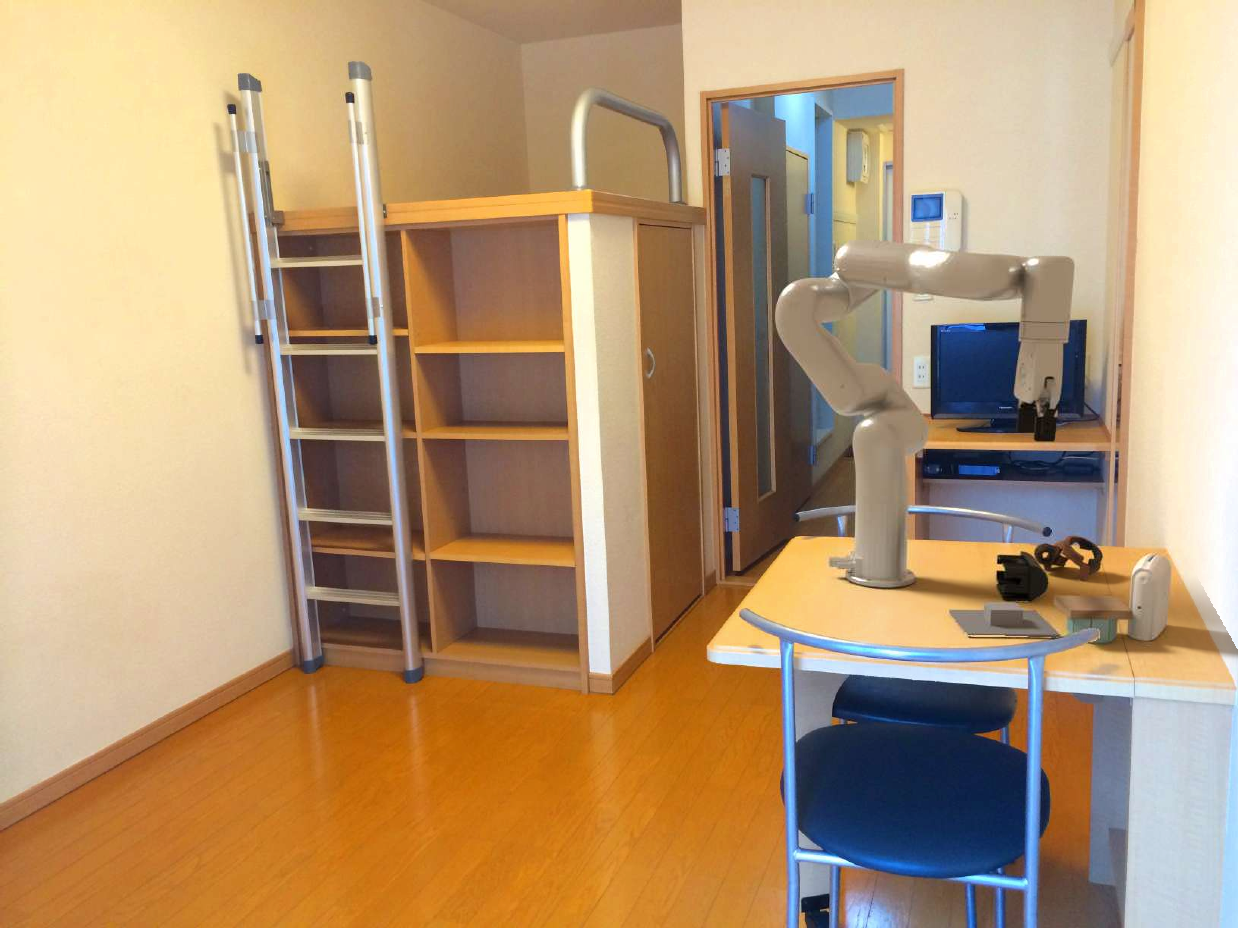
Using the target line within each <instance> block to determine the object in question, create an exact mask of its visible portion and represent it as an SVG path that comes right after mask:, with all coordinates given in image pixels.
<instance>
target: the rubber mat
mask: <svg viewBox="0 0 1238 928" xmlns="http://www.w3.org/2000/svg"><path fill="white" fill-rule="evenodd" d="M948 611H949V612H948V613H950V614H951V615H950V614H949V615H950V616H951V618H952V617H953V618H954V619H955V620H956V621H955V620H954V619H953V618H952V619H953V620H954V621H955V623H956V622H957V623H958V624H959V625H958V624H957V623H956V624H957V625H958V627H959V626H960V627H961V628H962V629H963V630H964V632H966V633H967V635H1005V636H1028V637H1051V638H1050V639H1057V638H1056V637H1060V638H1061V634H1060V633H1059V632H1058V631H1057V630H1056V629H1055V627H1053V626H1052V625H1051V623H1049V622H1048V621H1047V620H1046V619H1045V618H1044V617H1043V615H1040V613H1039V612H1038V611H1036V610H1035V609H1034V610H1033V609H1032V610H1031V609H1029V610H1028V609H1023V608H1022V607H1021V606H1020V605H1019V604H1018V602H1011V601H1004V602H1002V601H1001V602H998V601H997V602H996V601H995V602H993V601H992V602H991V601H989V602H986V601H985V602H983V609H948ZM960 627H959V628H960ZM961 628H960V629H961ZM962 629H961V630H962ZM964 632H963V633H964Z"/></svg>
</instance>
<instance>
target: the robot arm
mask: <svg viewBox="0 0 1238 928" xmlns="http://www.w3.org/2000/svg"><path fill="white" fill-rule="evenodd" d="M837 250H838V251H837V252H836V254H835V257H834V261H833V267H834V273H833V274H831V275H830V276H828V277H809V278H807V277H806V278H802V279H798V280H797V279H796V280H794V281H792V282H791V283H789V284H788V285H786V287H784V288H783V290H782V291H781V293H780V294H779V297H778V300H777V302H776V305H775V311H774V312H775V313H774V314H775V315H774V316H775V317H774V318H775V319H774V321H775V327H776V330H777V334H778V336H779V338H780V341H781V342H782V343H783V345H784V346H785V348H786V349H787V351H788V352H789V353H790V355H791V356H792V357H793V359H795V361H796V362H797V363H798V365H800V367H801V368H802V370H803V371H804V373H805V374H806V375H807V377H808V379H809V380H810V381H811V382H812V383H813V385H814V386H815V388H816V389H817V391H818V392H819V393H820V395H821V396H822V397H823V398H824V400H825V401H826V402H827V404H828V405H829V406H830V408H831V409H832V410H833V411H834V412H835V413H837V414H839V415H841V416H844V417H853V416H859V415H862V416H863V417H864V418H862V419H861V420H860V421H859V422H858V424H856V426H855V429H854V431H853V435H852V436H853V437H852V452H853V453H852V454H853V457H854V458H853V459H854V468H855V519H854V522H855V523H854V529H855V530H854V550H853V551H850V555H849V554H848V555H845V557H843V556H842V557H840V556H829V557H828V566H829V568H836V569H837V570H845V578H846V579H847V581H850V582H852V583H853V584H857V585H861V586H864V587H865V586H866V587H872V588H884V589H885V588H888V589H889V588H901V587H906V586H909V585H911V584H913V583H914V582H915V579H916V578H915V577H916V575H915V573H914V572H913V571H912V570H911V569H908V567H907V563H908V534H909V531H908V530H909V508H910V507H909V506H910V505H909V502H910V501H909V500H910V498H909V497H910V496H909V495H910V482H909V480H910V479H909V474H908V468H907V462H906V458H907V457H911V456H914V455H915V454H917V453H918V452H920V451H921V450H923V448H924V447H925V446H926V444H927V442H928V440H929V436H930V428H929V424H928V420H927V419H926V417H925V415H924V414H923V413H922V411H921V410H920V409H919V407H918V406H917V405H916V403H915V402H914V401H913V399H912V398H911V397H910V395H909V394H908V393H907V392H906V391H905V389H904V388H903V387H902V385H901V384H900V383H899V382H898V380H897V379H896V378H895V376H893V374H892V373H891V372H890V371H888V370H887V369H886V368H884V367H883V366H881V365H879V364H877V363H872V362H861V363H859V362H857V361H856V360H855V359H854V358H853V357H852V356H851V354H850V353H849V352H848V351H847V349H846V348H845V347H844V345H843V344H842V342H840V340H839V339H838V338H837V337H836V336H835V335H834V334H832V333H831V332H830V331H829V330H828V329H827V328H826V327H825V326H824V325H823V324H822V323H825V324H826V323H834V322H837V321H840V320H843V319H845V318H846V317H848V316H849V315H851V314H852V313H854V311H855V310H858V309H859V308H860V307H861V306H863V305H864V304H865V303H866V302H867V301H869V300H870V299H872V298H873V297H874V296H876V294H877V295H878V293H879V292H880V291H883V290H884V291H890V292H892V291H893V292H897V293H898V292H899V293H907V294H913V295H915V294H916V295H920V296H922V295H923V296H924V295H931V296H937V297H944V298H953V299H959V300H960V299H961V300H962V299H963V300H971V301H977V302H979V301H980V302H993V301H994V302H995V301H999V302H1000V301H1010V300H1017V299H1021V303H1020V304H1021V305H1020V317H1019V320H1020V321H1019V328H1018V339H1017V340H1018V342H1020V347H1019V351H1018V356H1017V357H1018V359H1017V364H1016V372H1015V379H1014V381H1015V382H1014V386H1013V387H1014V388H1013V395H1014V397H1015V398H1016V399H1018V403H1017V407H1018V408H1017V417H1016V418H1017V419H1016V432H1018V433H1033V441H1035V442H1040V443H1042V442H1046V443H1047V442H1048V443H1049V442H1050V443H1053V442H1055V441H1056V432H1057V420H1058V414H1059V412H1058V411H1059V410H1058V409H1059V407H1060V406H1059V401H1060V398H1061V394H1062V384H1063V369H1064V367H1063V366H1064V365H1063V364H1064V361H1063V360H1064V344H1068V343H1069V337H1070V335H1069V333H1070V323H1071V322H1070V321H1071V311H1072V303H1073V302H1072V301H1073V292H1074V291H1073V290H1074V282H1075V281H1074V278H1075V268H1076V267H1075V261H1074V260H1073V258H1071V257H1070V256H1067V255H1066V256H1064V255H1036V256H1031V257H1028V256H1027V257H1026V256H1019V255H1013V254H1001V253H1000V254H999V253H978V252H977V253H976V252H965V251H953V250H943V249H938V248H934V247H932V246H930V245H928V244H921V243H909V242H908V243H907V242H895V241H884V240H876V239H862V238H861V239H853V240H850V241H848V242H846V243H844V244H843V245H842V246H841V247H840V248H839V249H837Z"/></svg>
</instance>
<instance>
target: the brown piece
mask: <svg viewBox="0 0 1238 928" xmlns="http://www.w3.org/2000/svg"><path fill="white" fill-rule="evenodd" d="M1076 543H1077V544H1078V545H1079V549H1080V550H1085V551H1091V553H1092V554H1093V558H1088V560H1087V563H1086V562H1085V561H1084V560H1085V556H1084V555H1082V554H1080V553H1079V552H1078V551H1076V550H1075V548H1073V546H1072V545H1074V544H1076ZM1033 552H1034V553H1033V557H1034V558H1035V559H1036V560H1037V562H1038V563H1039V565H1040V566H1043V570H1046V571H1049V572H1050V571H1052V567H1053V566H1054V567H1055V566H1056V567H1060V568H1065V567H1064V566H1066V564H1067V562H1068V561H1071V562H1072V563H1073V564H1075V565H1076V566H1078V567H1079V570H1078V572H1077V573H1076V574H1075V578H1076V580H1077V579H1078V580H1080V581H1085V579H1087V578H1088V577H1089V576H1092V575H1095V574H1096V573H1097V572H1099V571H1100V570H1101V565H1102V563H1101V562H1102V560H1103V558H1104V555H1103V552H1102V550H1101V548H1100V547H1098V546H1097V545H1096V544H1095V543H1094V542H1092V541H1091V540H1089V539H1087V538H1085V537H1082V536H1078V535H1069V536H1067V537H1066V538H1065V539H1063V540H1059V541H1058V542H1055V544H1050V543H1046V542H1045V543H1041V544H1038V545H1037V546H1036V547H1035V549H1034V551H1033ZM1045 553H1047V555H1046V556H1045V557H1044V556H1043V555H1044V554H1045Z"/></svg>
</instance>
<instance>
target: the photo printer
mask: <svg viewBox="0 0 1238 928" xmlns="http://www.w3.org/2000/svg"><path fill="white" fill-rule="evenodd" d="M1171 574H1172V565H1171V562H1170V560H1169V559H1168V557H1166V556H1165V555H1163V554H1157V553H1152V552H1151V553H1149V554H1147V555H1145V556H1143V557H1142V558H1140V559H1139V561H1138V562H1137V563H1136V564H1135V566H1134V567H1133V570H1132V573H1131V576H1130V591H1129V606H1128V608H1130V609H1131V610H1132V611H1133V613H1132V620H1128V621H1127V635H1128V637H1130V638H1131V639H1133V640H1137V641H1143V642H1148V641H1153V640H1155V639H1156V638H1157V637H1159V635H1160V634H1161V633H1163V630H1164V629H1165V628H1166V626H1167V623H1168V616H1169V615H1168V614H1169V606H1170V605H1169V604H1170V593H1171V591H1170V590H1171V578H1172V577H1171V576H1172V575H1171Z"/></svg>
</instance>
